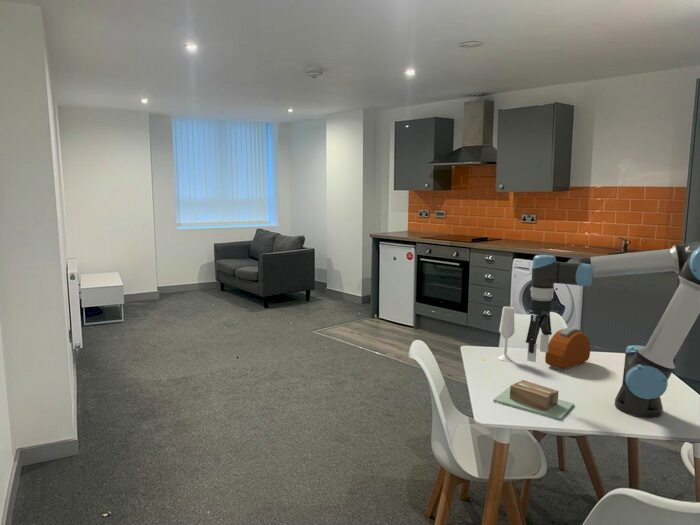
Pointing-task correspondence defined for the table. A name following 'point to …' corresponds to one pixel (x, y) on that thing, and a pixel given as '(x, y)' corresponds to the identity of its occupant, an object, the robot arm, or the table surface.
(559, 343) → the orange toaster
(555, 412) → the rubber mat
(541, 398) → the cardboard box
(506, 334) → the champagne flute
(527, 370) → the table surface
